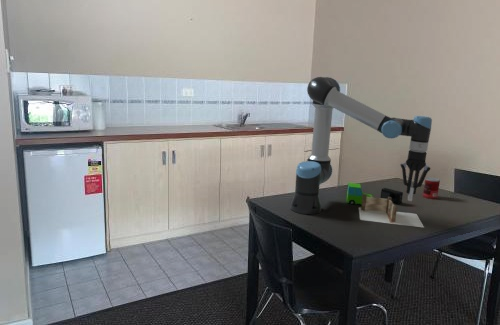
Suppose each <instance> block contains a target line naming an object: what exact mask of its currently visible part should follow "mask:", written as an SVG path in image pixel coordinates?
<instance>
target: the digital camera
mask: <svg viewBox="0 0 500 325" xmlns="http://www.w3.org/2000/svg"><path fill="white" fill-rule="evenodd" d="M403 194H404V192H402V191H400V190H395V189H392V188H387V187H384V188H383V187H382V189H381V192H380V198H384V199H388V197H392V200H391V201H392V203H393V204H394V205H397V206H398V205H401V204H402V203H403Z"/></svg>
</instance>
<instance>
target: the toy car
mask: <svg viewBox="0 0 500 325" xmlns="http://www.w3.org/2000/svg"><path fill="white" fill-rule="evenodd" d="M346 191H347V192H346V203H348V204H349V205H362V196H363V194H366V197H374V196H373V194H369V193H365V192H363V190H362V187H361V183H354V182H348V183H347V190H346ZM365 204H366V203H365Z"/></svg>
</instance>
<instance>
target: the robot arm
mask: <svg viewBox="0 0 500 325" xmlns="http://www.w3.org/2000/svg"><path fill="white" fill-rule="evenodd" d="M306 91H307V96H309V98H310V99H311V100H312V106H314V120H313V131H312V143H311V153H310V155H309V156H307V161H301V162H300V163H298V164H297V166H296V173H295V174H296V175H295V187H294V188H295V189H294V190H295V191H294V195H293V197H292V200H291V202H290V207H289V208H290V210H291V211H293V212H294V213H297V214H301V215H316V214H319V213H321V211H322V204H321V199H320V196H319V194H320V185H322V184H324V183H326V182H327V181H328V180H329V179H330V178H331V176H332V175H333V166H332V164H331V163H332V162H331V160H332V159H331V157H330V156H329V150H330V140H331V128H332V119H333V109H335V110H337V111H339V112H341V113H342V114H345V115H347V116H348V117H351V118H352V119H354V120H356V121H358V122H360V123H361V124H364V125H366V126H367V127H370V128H372V129H373V130H375V131H377V132H379V133H381V134H382V136H384V137H385V138H386V139H395V138H398V137H399V136H404V137H410V142H409V146H408V149H409V150H408V154H407V159H406V160H405V162H403V163H400V167H401V172H402V180H403V181H402V182H403V185H404V186H406V194H407V201H408V202H412V201H413V195H416V191H417V188H421V187H422V185H423V182H425V178H427V174H428V173H429V172H430V170H431V167H430V166H429V165H427V163H426V159H427V152H428V148H429V147H428V146H429V142H430V136H431V130H432V122H433V119H432V117H430V116H422V115H415V116H414V117H413V119H405V118H398V117H390V116H388V115H386V114H385V113H382V112H380V111H379V110H376V109H374V108H372V107H370V106H368V105H366V104H365V103H362V102H360V101H358V100H356V99H355V98H352V97H351V96H348V95H346V94H345V93H343V92H341V87H340V84H339V82H338V81H337V80H336V79H334V78H332V77H329V76H326V77H325V76H317V77H314V78H312V79H311V80H310V81H309V82H308V84H307V89H306ZM406 168H408V176H407V170H406ZM421 170H422V174H421V175H420V172H421ZM414 172H415V174H414ZM413 175H414V178H413ZM419 177H420V178H419ZM412 182H413V184H412Z"/></svg>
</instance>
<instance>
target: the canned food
mask: <svg viewBox="0 0 500 325" xmlns="http://www.w3.org/2000/svg"><path fill="white" fill-rule="evenodd" d="M440 181H441V180H440V179H439V178H437V177H430V176H428V177H427V176H426V177H425V179H424V185H423V191H422V192H423V193H422V196H423V198H426V199H430V200H436V199H438V195H439V190H440V183H441V182H440Z"/></svg>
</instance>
